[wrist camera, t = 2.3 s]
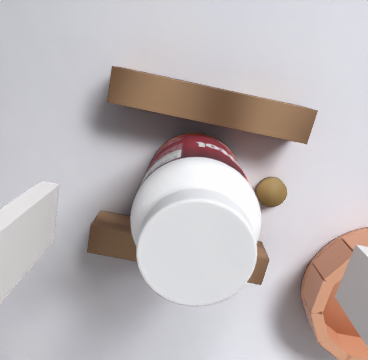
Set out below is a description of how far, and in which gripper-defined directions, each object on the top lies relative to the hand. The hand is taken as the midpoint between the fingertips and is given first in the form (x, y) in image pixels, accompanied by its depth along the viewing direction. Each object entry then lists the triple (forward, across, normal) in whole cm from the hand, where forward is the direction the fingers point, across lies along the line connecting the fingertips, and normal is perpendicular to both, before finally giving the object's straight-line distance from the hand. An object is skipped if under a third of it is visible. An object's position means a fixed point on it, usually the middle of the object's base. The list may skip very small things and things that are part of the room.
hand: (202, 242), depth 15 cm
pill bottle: (+9, 0, 0) cm, 9 cm away
